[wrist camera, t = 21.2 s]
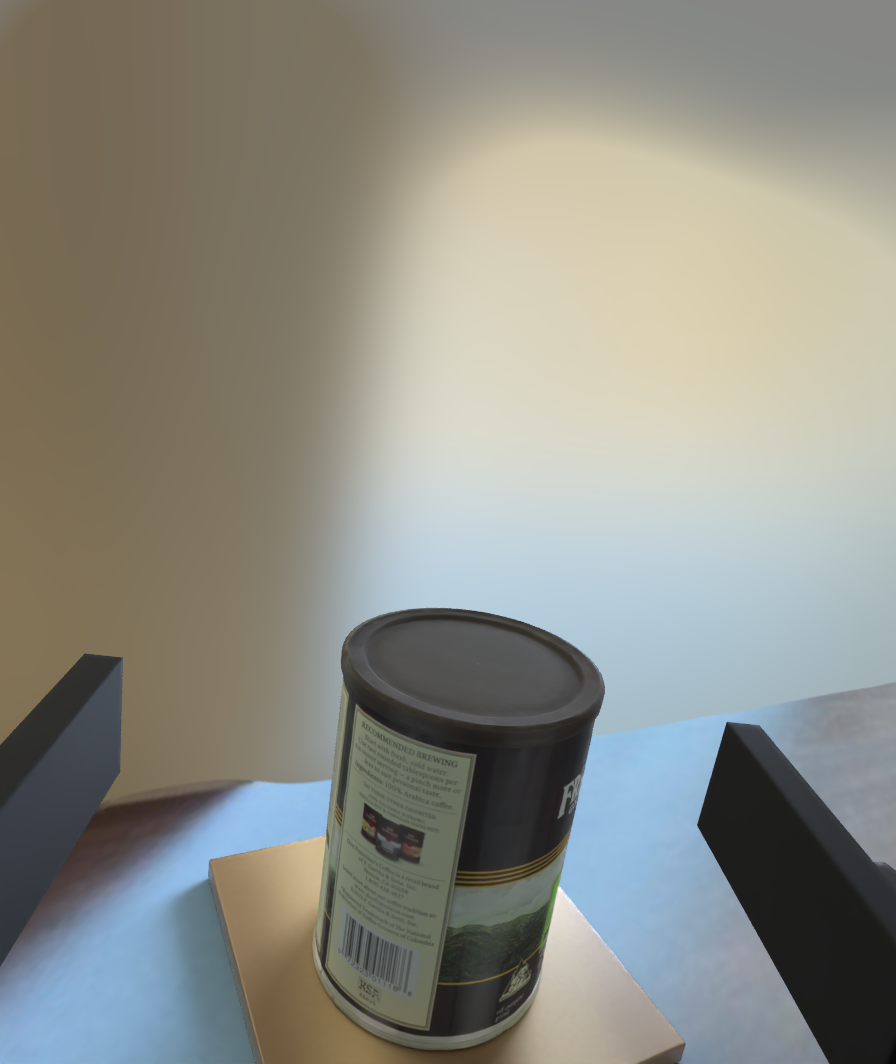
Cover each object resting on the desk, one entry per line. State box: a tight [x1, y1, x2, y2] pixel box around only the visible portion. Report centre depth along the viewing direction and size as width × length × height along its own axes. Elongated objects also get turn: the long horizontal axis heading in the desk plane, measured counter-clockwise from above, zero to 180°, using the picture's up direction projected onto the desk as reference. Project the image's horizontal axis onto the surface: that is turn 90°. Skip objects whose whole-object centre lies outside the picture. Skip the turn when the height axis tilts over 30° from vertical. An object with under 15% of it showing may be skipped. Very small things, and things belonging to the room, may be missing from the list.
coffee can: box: [312, 608, 605, 1050], centre depth 31 cm, size 10×10×14 cm
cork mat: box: [208, 836, 685, 1064], centre depth 33 cm, size 16×16×1 cm
